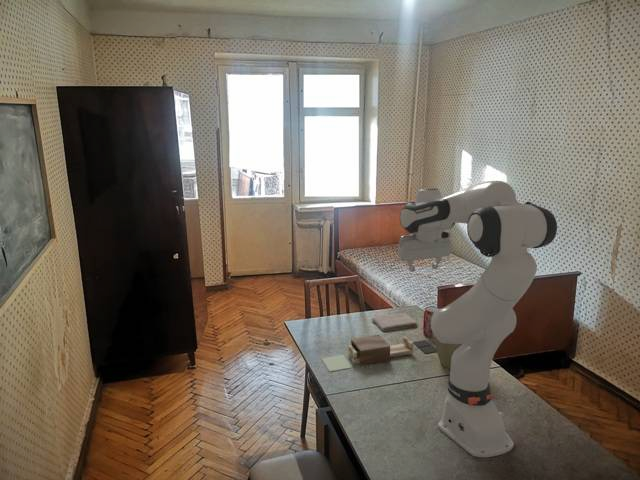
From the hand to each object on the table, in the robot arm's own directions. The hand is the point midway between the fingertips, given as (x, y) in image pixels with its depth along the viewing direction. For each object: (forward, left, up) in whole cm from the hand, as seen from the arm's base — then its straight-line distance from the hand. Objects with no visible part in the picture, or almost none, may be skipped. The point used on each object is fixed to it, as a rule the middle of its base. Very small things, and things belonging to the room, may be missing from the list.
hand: (423, 269), depth 168 cm
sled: (+9, +12, -38) cm, 40 cm away
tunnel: (+9, +16, -38) cm, 42 cm away
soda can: (+19, -17, -38) cm, 45 cm away
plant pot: (-5, -11, -38) cm, 39 cm away
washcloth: (+34, -7, -38) cm, 52 cm away
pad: (+9, +30, -38) cm, 49 cm away
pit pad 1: (+13, -9, -38) cm, 41 cm away
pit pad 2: (+7, -9, -38) cm, 39 cm away
